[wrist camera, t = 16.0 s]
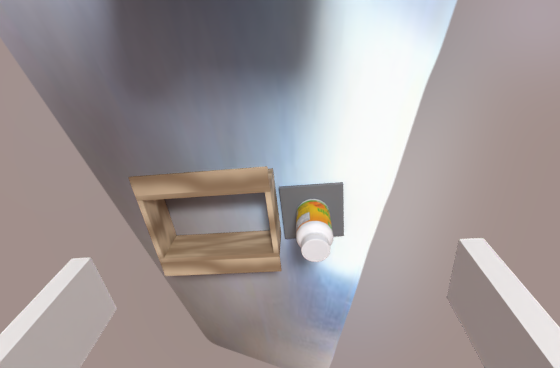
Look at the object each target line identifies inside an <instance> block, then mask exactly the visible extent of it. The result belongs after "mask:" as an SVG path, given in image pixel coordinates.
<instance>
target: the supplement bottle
mask: <svg viewBox="0 0 560 368" xmlns="http://www.w3.org/2000/svg"><path fill="white" fill-rule="evenodd" d="M296 239H297V243H298V245H299V246H300V247H301V252H302V255H303V257H304V258H305V259H307V260H309V261H312V262H319V261H323V260H325V259H326V258H327V257H328V256H329V254H330V246H331V244H332V242H333V231H332V225H331V219H330V213H329V209H328V207H327V205H326V204H325V203H324V202H323V201H321V200H318V199H308V200H306V201H304V202H302V203H301V204H300V205H299V206H298V208H297V212H296Z"/></svg>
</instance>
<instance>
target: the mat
mask: <svg viewBox="0 0 560 368" xmlns="http://www.w3.org/2000/svg"><path fill="white" fill-rule="evenodd" d="M279 190H280V198H281V206H282V215H283V223H284V231H285V239H289V238H296V212H297V208H298V206H299V205H300V204H301V203H302V202H304V201H306V200H308V199H318V200H321V201H323V202H324V203H325V204H326V205H327V207H328V209H329V213H330V219H331V225H332V231H333V236H344V221H343V182H341V183H326V184H311V185H297V186H282V187H279Z"/></svg>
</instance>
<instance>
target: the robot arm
mask: <svg viewBox="0 0 560 368" xmlns="http://www.w3.org/2000/svg"><path fill="white" fill-rule="evenodd" d="M447 299H448V301H449V303H450V304H451V306H452V308H453V310H454V312H455V314H456V316H457V318H458V319H459V321H460V323H461V324H462V327H463V329H464V330H465V332H466V334H467V336H468V338H469V340H470V342H471V344H472V345H473V347H474V349H475V351H476V353H477V355H478V357H479V358H480V360H481V362H482V364H483V366H484V368H560V328H559V326H558V325H557V324H556V323H555V322H554V321H553V319H552V318H551V317H550V316H549V315H548V313H547V312H546V311H545V310H544V309H543V308H542V306H541V305H540V304H539V303H538V302H537V301H536V299H535V298H534V297H533V296H532V295H531V294H530V292H529V291H528V290H527V289H526V288H525V287H524V285H523V284H522V283H521V282H520V281H519V279H518V278H517V277H516V276H515V275H514V274H513V272H512V271H511V270H510V269H509V268H508V267H507V265H506V264H505V263H504V262H503V261H502V259H501V258H500V257H499V256H498V255H497V254H496V253H495V251H494V250H493V249H492V248H491V247H490V245H489V244H488V243H487V242H486V241H485V240H484V238H473V239H459V241H458V246H457V251H456V256H455V261H454V265H453V270H452V275H451V280H450V284H449V289H448V294H447ZM116 309H117V307H116V306H115V304H114V302H113V300H112V298H111V296H110V294H109V292H108V290H107V288H106V286H105V284H104V282H103V280H102V278H101V276H100V274H99V272H98V270H97V268H96V266H95V264H94V262H93V260H92V259H91V258H72V259H71V260H70V261H69V262H68V263H67V264H66V265H65V266H64V267H63V269H62V270H61V271H60V272H59V273H58V274H57V275H56V276H55V277H54V278H53V279H52V280H51V281H50V282H49V283H48V284H47V285H46V287H45V288H44V289H43V290H42V291H41V292H40V293H39V294H38V295H37V296H36V297H35V298H34V299H33V300H32V301H31V302H30V303H29V304H28V305H27V307H26V308H25V309H24V310H23V311H22V312H21V313H20V314H19V315H18V316H17V317H16V318H15V319H14V320H13V321H12V322H11V324H10V325H9V326H8V327H7V328H6V329H5V330H4V331H3V332H2V333H1V334H0V368H80V367H81V365H82V364H83V362H84V360H85V359H86V357H87V355H88V354H89V352H90V351H91V349H92V348H93V346H94V344H95V343H96V341H97V340H98V338H99V336H100V335H101V333H102V332H103V330H104V328H105V327H106V325H107V324H108V322H109V320H110V319H111V317H112V316H113V314H114V312H115V311H116Z"/></svg>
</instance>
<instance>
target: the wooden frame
mask: <svg viewBox="0 0 560 368" xmlns="http://www.w3.org/2000/svg"><path fill="white" fill-rule="evenodd" d="M129 181H130V184H131V186H132V189H133V191H134V194H135V197H136V199H137V202H138V205H139V207H140V210H141V213H142V215H143V218H144V221H145V223H146V226H147V229H148V231H149V234H150V237H151V239H152V242H153V245H154V247H155V250H156V252H157V255H158V258H159V260H160V263H161V266H162V268H163V271H164V274H165V276H179V275H203V274H226V273H250V272H273V271H281V263H280V256H279V255H280V242H281V228H280V221H279V213H278V205H277V197H276V189H275V182H274V174H273V168H272V169H268V168H267V166H266V167H253V168H239V169H226V170H213V171H199V172H186V173H173V174H159V175H146V176H133V177H129ZM263 192H265V197H266V204H267V211H268V217H269V224H270V230H268V231H250V232H232V233H214V234H196V235H178V236H176V233H175V230H174V226H173V223H172V220H171V217H170V214H169V211H168V208H167V205H166V202H165V199H173V198H188V197H203V196H218V195H233V194H248V193H263Z"/></svg>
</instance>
